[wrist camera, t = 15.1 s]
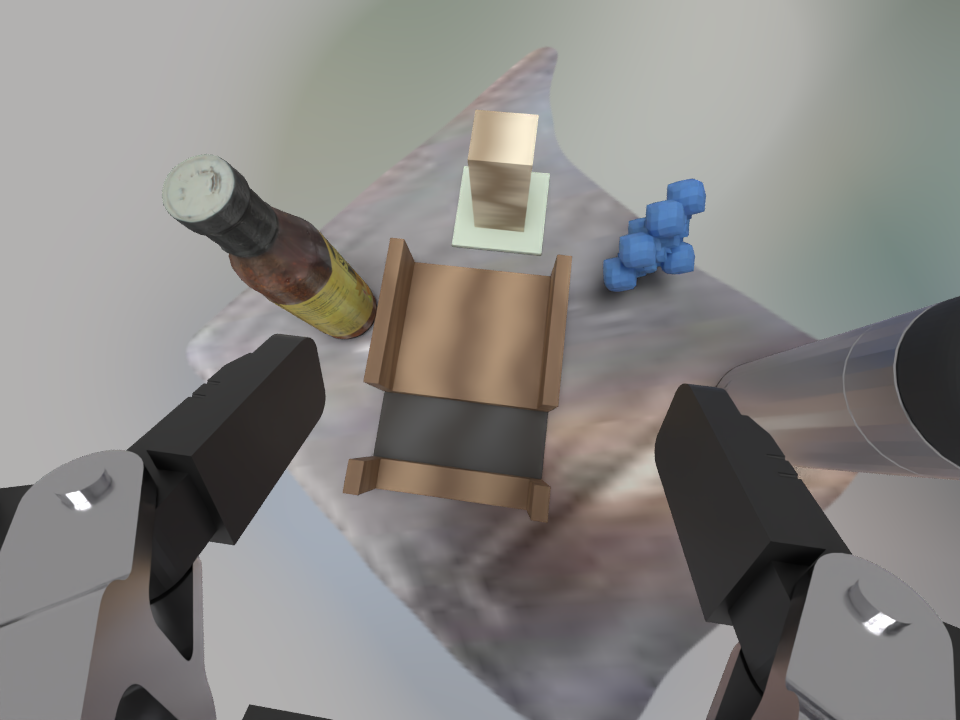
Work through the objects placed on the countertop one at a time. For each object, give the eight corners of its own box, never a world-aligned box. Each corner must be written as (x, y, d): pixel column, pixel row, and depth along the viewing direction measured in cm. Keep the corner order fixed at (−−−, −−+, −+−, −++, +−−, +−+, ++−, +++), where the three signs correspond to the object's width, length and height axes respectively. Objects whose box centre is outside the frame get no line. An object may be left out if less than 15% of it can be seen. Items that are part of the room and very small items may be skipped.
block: (528, 192, 41) (538, 115, 32) (523, 232, 40) (532, 165, 31) (480, 187, 42) (475, 109, 32) (474, 227, 41) (467, 159, 31)
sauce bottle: (389, 294, 40) (289, 156, 21) (362, 351, 39) (230, 262, 20) (331, 272, 41) (182, 119, 21) (303, 327, 40) (120, 218, 20)
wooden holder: (559, 285, 40) (572, 256, 33) (538, 508, 36) (547, 522, 29) (407, 269, 41) (390, 237, 34) (369, 483, 37) (342, 492, 30)
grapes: (625, 339, 38) (682, 294, 27) (570, 294, 39) (602, 232, 28) (700, 255, 40) (786, 177, 28) (646, 214, 41) (706, 122, 29)
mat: (549, 176, 42) (549, 173, 42) (540, 255, 40) (541, 253, 40) (464, 168, 43) (464, 166, 42) (452, 246, 41) (451, 244, 41)
